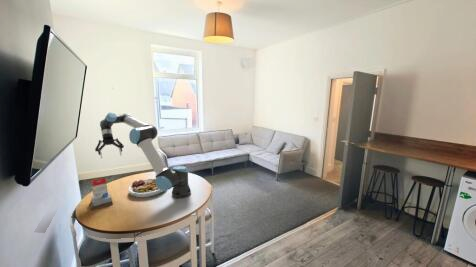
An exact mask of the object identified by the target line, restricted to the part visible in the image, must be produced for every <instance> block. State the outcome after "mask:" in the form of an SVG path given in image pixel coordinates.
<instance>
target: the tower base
mask: <svg viewBox="0 0 476 267" xmlns="http://www.w3.org/2000/svg"><path fill="white" fill-rule="evenodd" d="M110 196H111V197H112V195H110ZM113 205H114V203H113V200H112V201H110V202H107V203H104V204H100V205H97V206H94V205H93V203H92V200H91V199H90V208H91V210H90V211H94V210H98V209H101V208H106V207H109V206H113Z"/></svg>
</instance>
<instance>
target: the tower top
mask: <svg viewBox="0 0 476 267" xmlns="http://www.w3.org/2000/svg"><path fill="white" fill-rule="evenodd" d="M91 200H92V203H93V205H94V206H97V205H100V204H104V203H107V202H110V201H112V202H113V199H112V195H111V196H110V193H109V192H108V196H106V197H103V198H100V199H97V200H95V199H94V196H91V197H90V201H91Z"/></svg>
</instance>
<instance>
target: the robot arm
mask: <svg viewBox="0 0 476 267" xmlns="http://www.w3.org/2000/svg"><path fill="white" fill-rule="evenodd" d="M121 123H122V124H125V125H127V126H130V127H132V129H131V130H130V131H129V135H128V136H129V140H130V143H131V144H133V145H136V146H137V148H141V149H140V150H141V151H142V152H143V153H144V156H145V157H146V159H147V161H148V162H149V164H150V166H151V168H152V170H153V171H154V173H155V176H154V177H155V178H156V179H155V182H156V183H155V184H156V186H157V187H158V189H160V190H162V191H163V192H166V191H169V190H171V189H172V191H171V197H173V198H176V199H183V198H186V197H187V198H188V197H190V195H191V194H192V190H191V188H190V185H189V171H188V168H187V166H183V165H177V166H173V167H172V170H171V169H170V168H169V167H167V165H166V164H165V162H164V161H163V159H162V158H161V156H160V154H159V152H158V151H157V149H156V148H155V146H154V144H153V143H152V142H153V140H155V138H156V137H157V135H158V134H159V133H158V128H157V127H156V126H155V125H153V124H150V123H146V122H143V121H141V120H138V119H136V118H134V117H132V115H131V114H130V113H121V114H120V113H119V114H116V113H115V112H107V115H105V117H104V119H102V120H100V122H99V127H100V130H101V135H102V140H100V139H98V144H97V145H96V147H95V148H94V149H95V150H94V151H95V152H98V153H97V154H98V155H99V156H100V159H101V160H102V159H103V154H102V150H103V149H104V147H105V146H109V145H110V146H111V145H112V146H115V147H117V148H118V150H119V155H120V157H121V156H122V155H123V154H122V152H123V148H124V146H125V145H124V144H123V143H122V142H121V141H120V140H119V139H118V138H117V137H116V138H115V139H114V136H113V130H112V126H113V125H114V124H121ZM101 144H102V145H101Z"/></svg>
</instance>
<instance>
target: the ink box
mask: <svg viewBox="0 0 476 267" xmlns="http://www.w3.org/2000/svg"><path fill="white" fill-rule="evenodd" d="M91 190H92V195H93V196H94V199H95V200H97V199H100V198H103V197H106V196H108V193H109V191H108V184H107V181H106V177H102V178H98V179H97V178H96V179H94V180H92V181H91ZM93 196H92V197H93Z"/></svg>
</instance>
